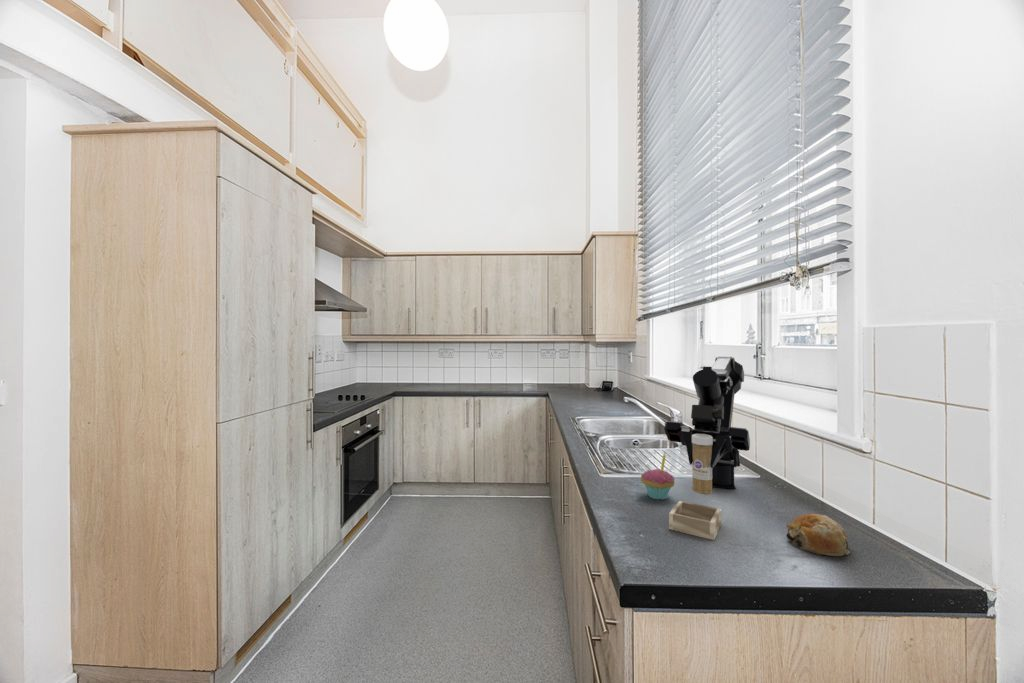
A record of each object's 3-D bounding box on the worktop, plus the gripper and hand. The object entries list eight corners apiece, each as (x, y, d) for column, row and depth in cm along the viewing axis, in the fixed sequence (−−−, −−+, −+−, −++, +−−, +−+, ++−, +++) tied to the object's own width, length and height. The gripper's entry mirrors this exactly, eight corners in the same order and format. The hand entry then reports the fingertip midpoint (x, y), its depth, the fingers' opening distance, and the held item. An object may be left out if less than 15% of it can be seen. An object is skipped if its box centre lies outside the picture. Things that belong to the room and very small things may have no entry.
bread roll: (840, 579, 80) (863, 546, 78) (782, 544, 85) (802, 511, 83) (834, 557, 88) (855, 526, 87) (781, 526, 93) (800, 496, 92)
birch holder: (679, 515, 101) (679, 500, 101) (721, 524, 96) (721, 509, 96) (669, 529, 94) (669, 513, 94) (714, 540, 89) (713, 523, 89)
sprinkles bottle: (690, 492, 100) (689, 435, 100) (694, 486, 104) (694, 432, 104) (711, 496, 98) (710, 438, 98) (714, 490, 101) (714, 434, 101)
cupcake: (669, 491, 117) (669, 448, 117) (678, 503, 109) (678, 456, 109) (638, 490, 118) (637, 447, 118) (644, 502, 110) (644, 455, 110)
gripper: (665, 389, 109) (653, 441, 100) (748, 394, 99) (742, 452, 90) (674, 415, 116) (663, 465, 107) (752, 422, 105) (747, 479, 96)
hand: (700, 465), depth 100 cm, fingers closed on sprinkles bottle, 4 cm apart
